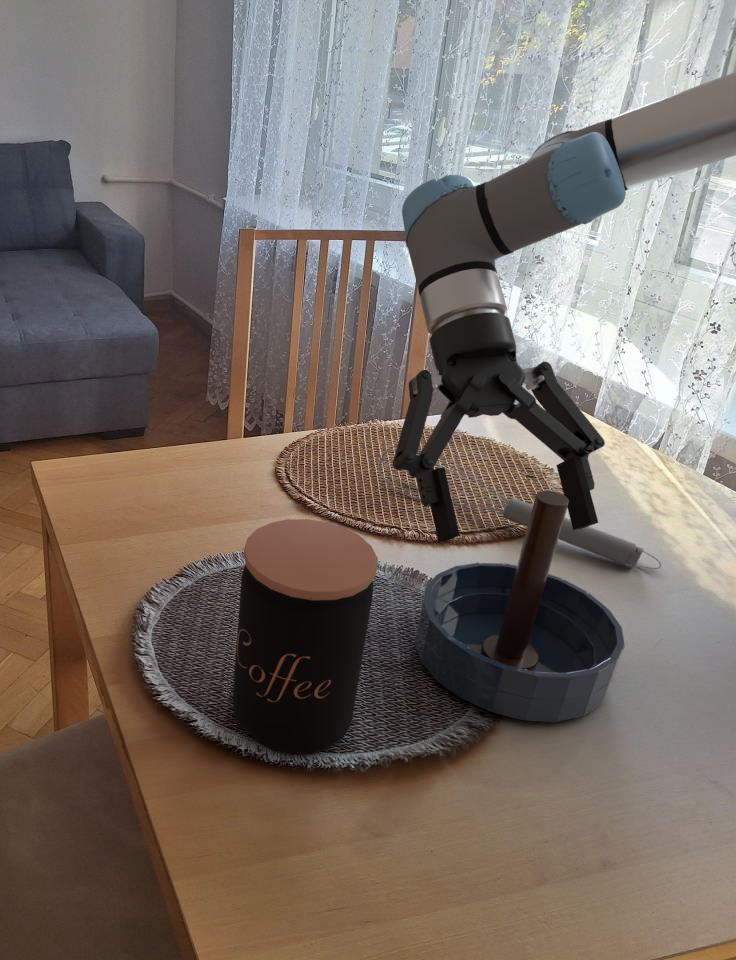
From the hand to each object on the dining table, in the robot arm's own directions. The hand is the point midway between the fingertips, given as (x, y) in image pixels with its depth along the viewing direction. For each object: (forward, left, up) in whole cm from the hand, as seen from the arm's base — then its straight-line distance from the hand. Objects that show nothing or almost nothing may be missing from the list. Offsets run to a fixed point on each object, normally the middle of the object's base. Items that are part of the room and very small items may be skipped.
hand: (518, 533), depth 80 cm
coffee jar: (+16, +18, -13) cm, 27 cm away
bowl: (-2, +2, -13) cm, 14 cm away
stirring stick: (-2, +3, -12) cm, 13 cm away
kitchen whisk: (-1, -25, -13) cm, 29 cm away
